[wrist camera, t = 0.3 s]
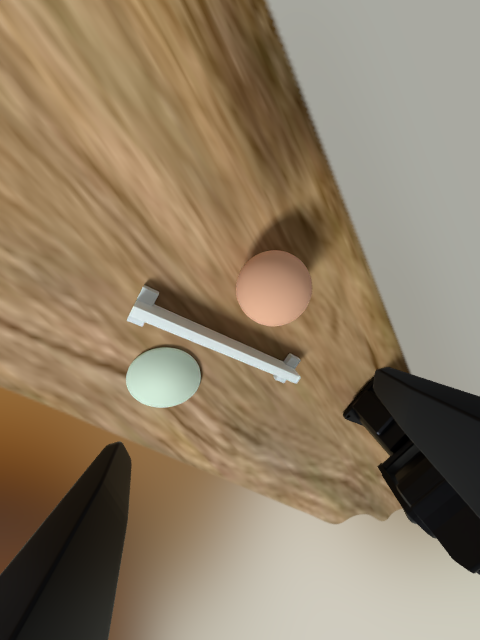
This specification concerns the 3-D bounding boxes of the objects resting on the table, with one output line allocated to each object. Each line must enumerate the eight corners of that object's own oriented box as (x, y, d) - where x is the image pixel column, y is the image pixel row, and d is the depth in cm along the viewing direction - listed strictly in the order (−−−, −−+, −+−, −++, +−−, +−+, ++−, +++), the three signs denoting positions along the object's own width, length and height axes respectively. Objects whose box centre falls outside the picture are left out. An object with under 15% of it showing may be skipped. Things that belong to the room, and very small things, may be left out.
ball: (304, 267, 20) (343, 284, 15) (269, 319, 22) (295, 350, 17) (252, 232, 18) (279, 238, 13) (217, 292, 19) (230, 319, 15)
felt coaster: (212, 362, 22) (213, 364, 22) (181, 412, 24) (181, 414, 23) (145, 336, 19) (144, 338, 19) (115, 394, 21) (114, 396, 21)
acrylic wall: (298, 357, 24) (307, 368, 22) (281, 379, 25) (289, 392, 23) (144, 284, 18) (140, 292, 16) (128, 317, 19) (122, 328, 17)
